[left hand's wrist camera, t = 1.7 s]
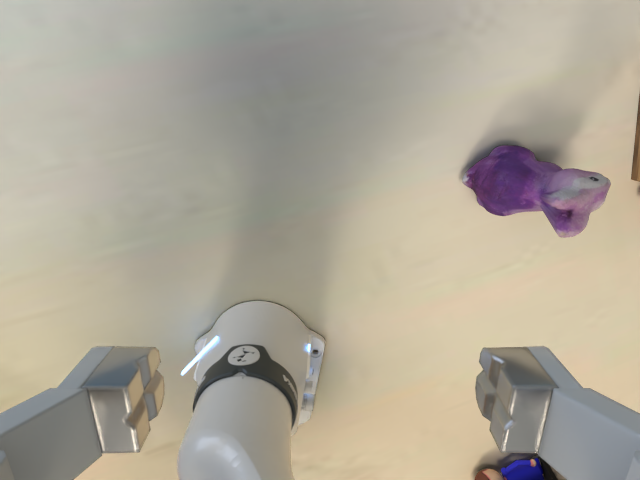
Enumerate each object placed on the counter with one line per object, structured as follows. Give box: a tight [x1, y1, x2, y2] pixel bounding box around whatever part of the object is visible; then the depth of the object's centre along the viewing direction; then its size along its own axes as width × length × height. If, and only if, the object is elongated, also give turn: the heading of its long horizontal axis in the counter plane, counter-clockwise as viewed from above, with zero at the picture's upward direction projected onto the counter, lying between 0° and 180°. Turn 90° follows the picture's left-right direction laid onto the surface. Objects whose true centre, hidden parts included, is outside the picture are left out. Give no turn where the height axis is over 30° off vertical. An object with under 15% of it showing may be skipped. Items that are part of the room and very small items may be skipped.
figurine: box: [462, 145, 611, 237], centre depth 46 cm, size 9×10×15 cm
